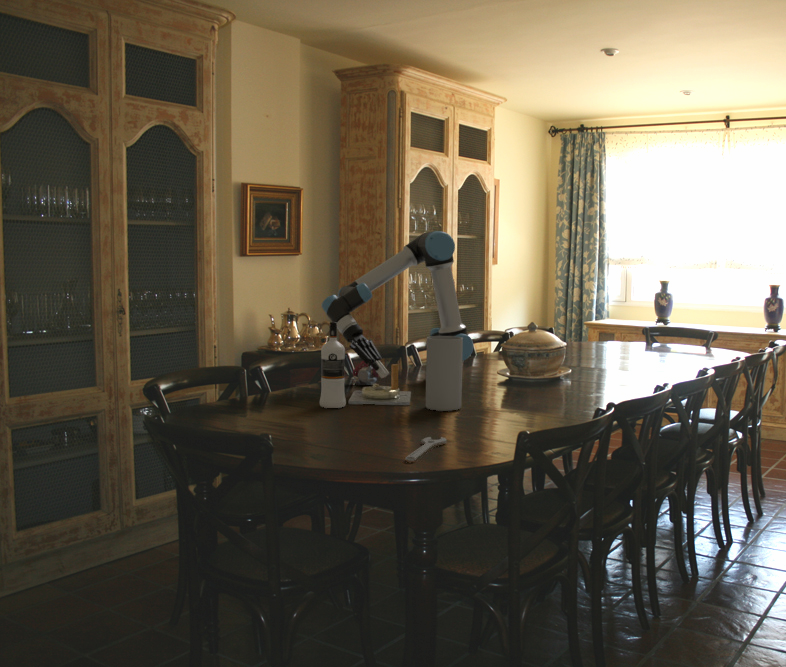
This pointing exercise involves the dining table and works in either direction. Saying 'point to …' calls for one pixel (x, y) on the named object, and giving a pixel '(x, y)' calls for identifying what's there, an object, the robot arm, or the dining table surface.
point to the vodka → (332, 372)
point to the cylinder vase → (444, 373)
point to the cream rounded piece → (384, 387)
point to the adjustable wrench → (424, 447)
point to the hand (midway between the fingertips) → (385, 375)
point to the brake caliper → (364, 375)
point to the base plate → (359, 399)
